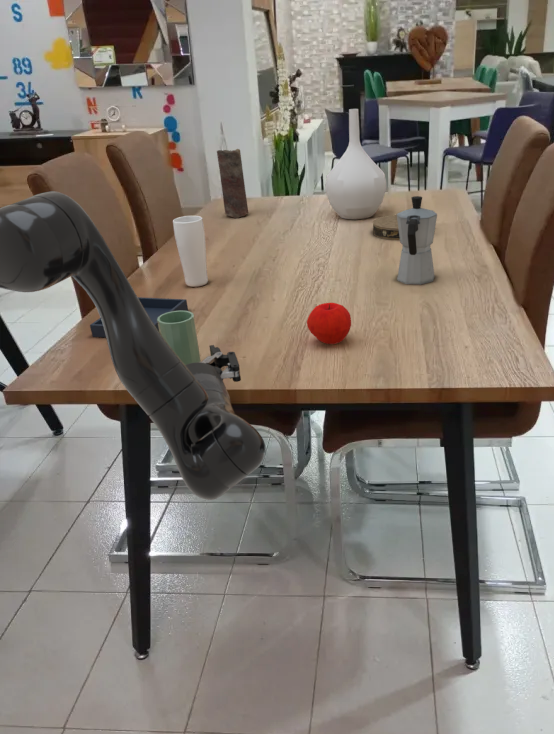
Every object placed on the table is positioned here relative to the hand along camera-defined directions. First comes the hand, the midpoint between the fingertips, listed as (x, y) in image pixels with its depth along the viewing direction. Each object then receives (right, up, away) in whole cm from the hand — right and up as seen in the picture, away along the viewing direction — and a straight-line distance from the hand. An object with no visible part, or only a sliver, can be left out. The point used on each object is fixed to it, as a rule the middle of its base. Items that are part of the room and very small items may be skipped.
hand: (185, 355), depth 110 cm
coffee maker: (+43, +21, +46) cm, 66 cm away
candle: (-5, +56, +111) cm, 124 cm away
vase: (+33, +53, +102) cm, 119 cm away
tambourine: (+44, +42, +82) cm, 103 cm away
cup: (-2, -2, +10) cm, 10 cm away
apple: (+23, +4, +18) cm, 30 cm away
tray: (-15, +10, +32) cm, 36 cm away
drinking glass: (-7, +22, +52) cm, 57 cm away
